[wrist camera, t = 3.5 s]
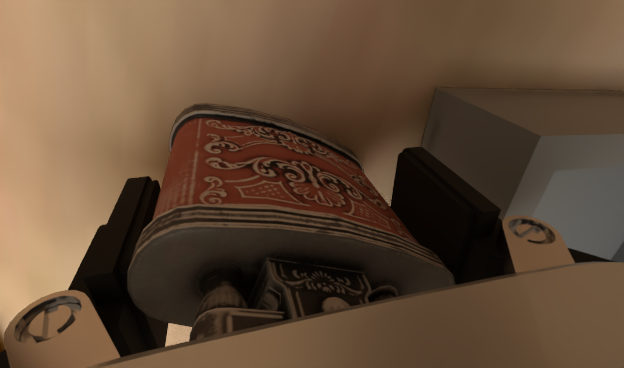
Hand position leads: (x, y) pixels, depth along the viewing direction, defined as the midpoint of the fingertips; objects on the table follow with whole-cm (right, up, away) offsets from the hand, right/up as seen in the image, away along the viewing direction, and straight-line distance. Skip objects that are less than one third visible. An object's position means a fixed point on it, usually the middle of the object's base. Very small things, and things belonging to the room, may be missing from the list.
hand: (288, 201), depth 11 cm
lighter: (-1, +2, +3) cm, 4 cm away
